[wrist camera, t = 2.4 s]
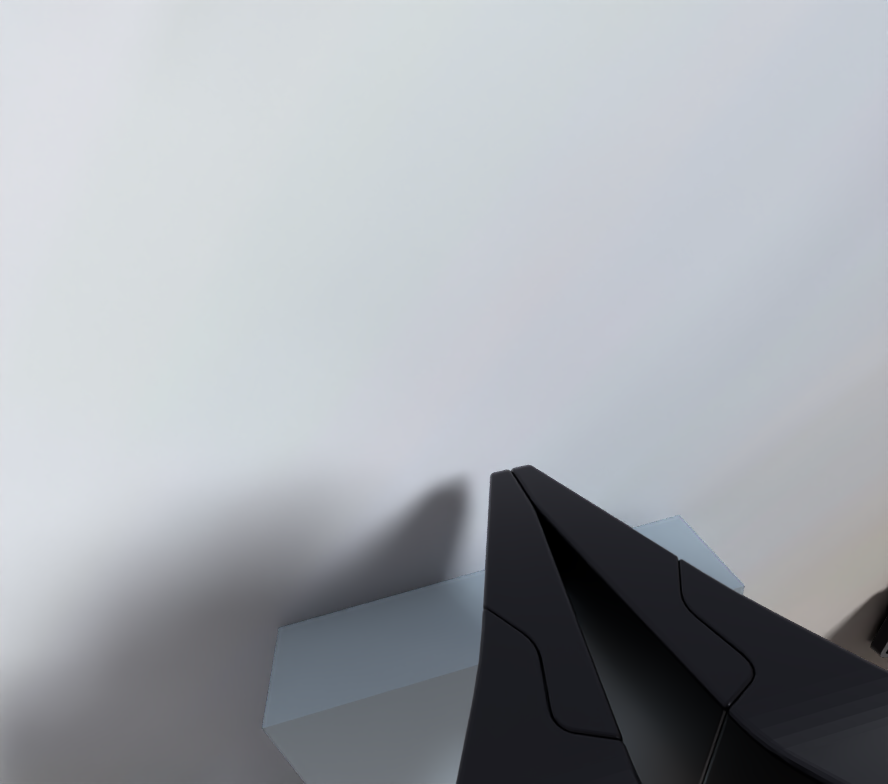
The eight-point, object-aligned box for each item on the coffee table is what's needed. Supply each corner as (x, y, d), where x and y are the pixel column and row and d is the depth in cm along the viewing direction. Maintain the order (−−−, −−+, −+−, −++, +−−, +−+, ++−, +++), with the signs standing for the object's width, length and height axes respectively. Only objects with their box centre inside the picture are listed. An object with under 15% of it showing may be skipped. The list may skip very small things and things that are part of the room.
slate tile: (668, 503, 13) (744, 586, 11) (644, 764, 22) (682, 844, 19) (281, 611, 13) (261, 728, 10) (414, 838, 21) (422, 932, 19)
